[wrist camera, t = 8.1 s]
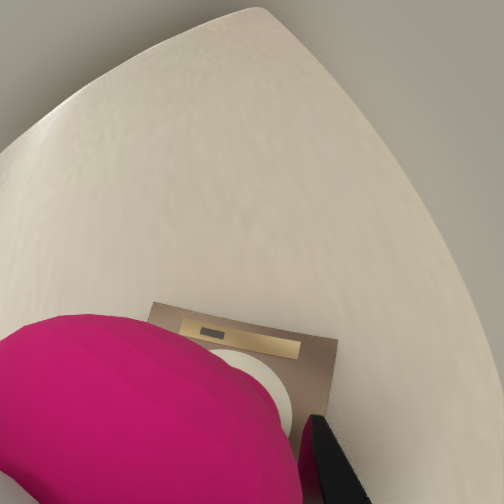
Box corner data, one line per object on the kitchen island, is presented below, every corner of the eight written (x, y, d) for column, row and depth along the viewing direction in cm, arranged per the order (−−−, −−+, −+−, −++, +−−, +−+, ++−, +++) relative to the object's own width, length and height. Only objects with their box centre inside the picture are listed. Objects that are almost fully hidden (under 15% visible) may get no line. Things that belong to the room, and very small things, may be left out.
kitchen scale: (297, 515, 16) (298, 520, 15) (115, 468, 17) (109, 471, 16) (335, 341, 21) (338, 339, 20) (156, 304, 22) (152, 300, 21)
